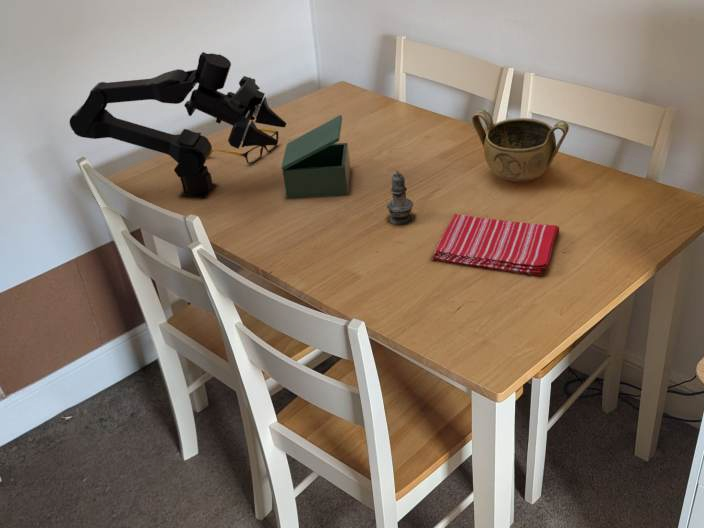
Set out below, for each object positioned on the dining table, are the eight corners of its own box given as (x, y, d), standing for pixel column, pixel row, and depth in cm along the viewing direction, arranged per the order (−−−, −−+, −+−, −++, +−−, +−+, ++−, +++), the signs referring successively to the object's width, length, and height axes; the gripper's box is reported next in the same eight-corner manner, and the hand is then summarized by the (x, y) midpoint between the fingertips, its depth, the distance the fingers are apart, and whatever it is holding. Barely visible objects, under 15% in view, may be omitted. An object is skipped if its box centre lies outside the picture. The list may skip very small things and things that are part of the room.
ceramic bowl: (461, 184, 189) (460, 125, 180) (487, 152, 200) (487, 95, 191) (552, 200, 180) (556, 138, 171) (574, 166, 192) (579, 107, 182)
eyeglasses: (249, 168, 204) (246, 153, 202) (207, 157, 211) (203, 143, 208) (283, 144, 213) (280, 130, 211) (241, 135, 220) (238, 121, 217)
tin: (350, 169, 199) (347, 142, 195) (348, 194, 189) (344, 167, 185) (292, 173, 200) (288, 146, 196) (287, 198, 190) (282, 171, 186)
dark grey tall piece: (395, 228, 176) (391, 179, 169) (383, 216, 180) (378, 169, 173) (418, 220, 178) (415, 171, 170) (406, 209, 182) (402, 161, 175)
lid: (342, 117, 191) (340, 114, 190) (339, 140, 181) (337, 138, 180) (288, 146, 195) (286, 143, 195) (282, 170, 186) (281, 167, 185)
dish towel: (545, 278, 157) (545, 266, 156) (430, 261, 165) (430, 250, 163) (561, 232, 169) (562, 221, 168) (454, 219, 177) (454, 208, 175)
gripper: (216, 91, 169) (284, 122, 172) (238, 58, 184) (301, 88, 187) (202, 134, 176) (268, 163, 179) (224, 99, 191) (285, 127, 193)
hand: (281, 134), depth 184 cm, fingers open, 9 cm apart
